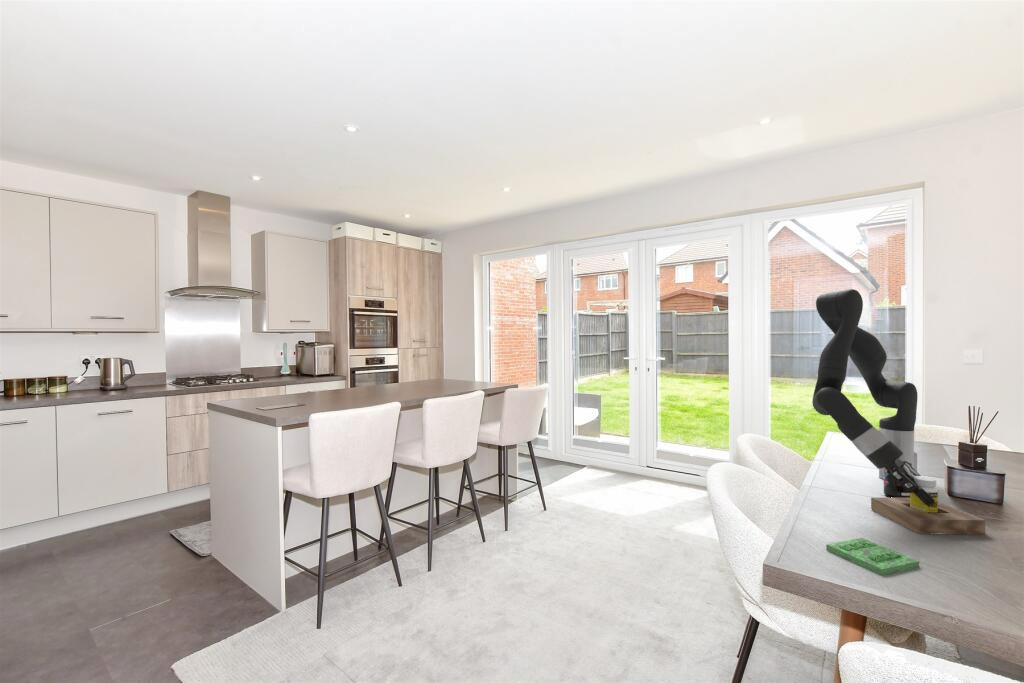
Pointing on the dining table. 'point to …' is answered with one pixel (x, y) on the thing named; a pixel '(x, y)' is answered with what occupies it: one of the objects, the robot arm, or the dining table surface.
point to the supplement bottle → (929, 487)
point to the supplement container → (894, 486)
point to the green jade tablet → (872, 556)
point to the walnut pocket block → (928, 517)
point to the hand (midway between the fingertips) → (932, 500)
